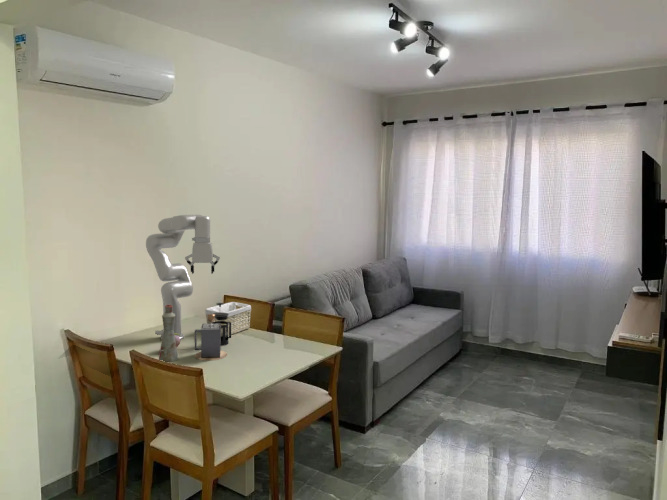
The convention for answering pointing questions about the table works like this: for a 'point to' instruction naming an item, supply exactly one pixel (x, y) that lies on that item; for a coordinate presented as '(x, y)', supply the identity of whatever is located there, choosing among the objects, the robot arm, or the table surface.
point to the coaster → (222, 355)
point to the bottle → (168, 337)
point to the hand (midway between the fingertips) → (202, 273)
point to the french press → (225, 327)
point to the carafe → (209, 340)
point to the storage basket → (233, 315)
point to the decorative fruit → (177, 339)
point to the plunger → (211, 318)
